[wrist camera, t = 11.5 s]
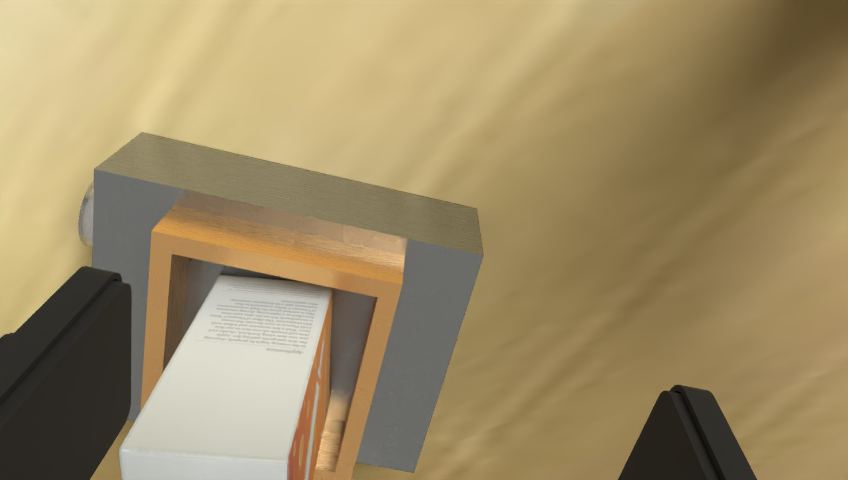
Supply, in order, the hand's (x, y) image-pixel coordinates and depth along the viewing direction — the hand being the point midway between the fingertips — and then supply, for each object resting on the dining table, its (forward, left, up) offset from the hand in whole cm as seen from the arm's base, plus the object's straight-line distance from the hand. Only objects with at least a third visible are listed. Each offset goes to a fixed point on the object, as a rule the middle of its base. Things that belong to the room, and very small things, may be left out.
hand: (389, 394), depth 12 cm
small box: (+4, +15, -22) cm, 27 cm away
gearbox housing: (+5, +16, -27) cm, 32 cm away
